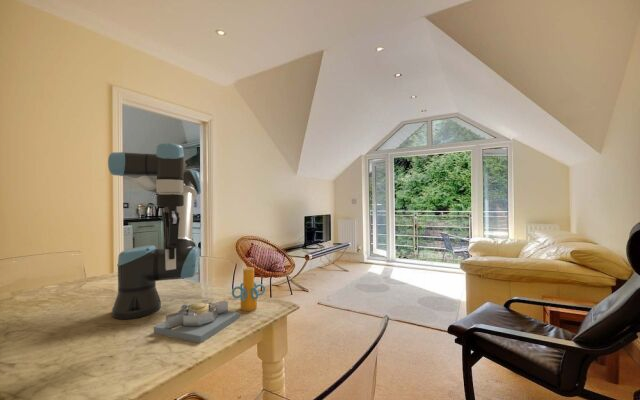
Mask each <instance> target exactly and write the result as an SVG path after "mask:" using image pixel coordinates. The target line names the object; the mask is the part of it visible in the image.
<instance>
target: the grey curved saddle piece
mask: <svg viewBox="0 0 640 400" xmlns="http://www.w3.org/2000/svg"><path fill="white" fill-rule="evenodd" d="M200 303H206V304H208V305H209V311H206V312H202V313H199V314H196V311H189V307H190V306H192V305H193V304H194V303H193V304H183V305H182V306H180V310H178V312H175V313H170V314H166V315H165V321H166V327H167V328H171V327H174V326H178V325H181V324H182V325H185V326H199V325H202V324H205V323H209V322H212V321H214V319H215V318H216V317H217V316H218V314H219V313H223V312H226V311H229V302H228V301H227V300H225V299H224V300H221V301H218V302H209V299H202V300H201V302H200Z"/></svg>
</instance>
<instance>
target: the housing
mask: <svg viewBox="0 0 640 400" xmlns="http://www.w3.org/2000/svg"><path fill="white" fill-rule="evenodd" d="M191 305H192V304H191ZM189 311H196V314H199V313H202V312H206V311H209V305H208V304H206V303H201V302H197V303H193V305H192V306H190V307H189ZM239 319H240V312H237V311H230V310H228V311H226V312H223V313H219V314H218V316H217V317H216V318H215V319H214V321H212V322H209V323H205V324H202V325H199V326H185V325H182V324H181V325H178V326H174V327H171V328H167V327H166V320H165V321H163V322H160V323H159V324H157V325H154V326H153V334H155V335H161V336H165V337H170V338H174V339H180V340H183V341H189V342H195V343H196V344H197V343H198V344H202V343H204V342H206V341H207V340H208V339H210V338H212V337H213V336H214V335H216V334H217V333H219V332H220V331H222V330H224V329H225V328H226V327H228V326H230V325H231V324H232V323H234V322H235V321H237V320H239Z"/></svg>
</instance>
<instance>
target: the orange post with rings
mask: <svg viewBox="0 0 640 400" xmlns="http://www.w3.org/2000/svg"><path fill="white" fill-rule="evenodd" d="M242 274H243V275H242V282H241V283H240V286H235V287H234V288H233V289H232V290H231V296H232V297H233V298H235V299H239V298H240V310H241V311H244V312H250V311H254V310H256V309H257V308H258V298H259V296H262V295H264V293H265V292H266V288H265V287H266V286H265V285H264V284H261V283H258V284H257V283H256V281H255V267H252V266H247V267H243V269H242ZM258 287H262V291H261V292H260V293H259V290H258ZM237 289H239V290H240V294H239V295H236V294H235V290H237Z"/></svg>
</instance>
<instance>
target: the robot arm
mask: <svg viewBox="0 0 640 400" xmlns="http://www.w3.org/2000/svg"><path fill="white" fill-rule="evenodd" d="M184 157H185V153H184V147H183V146H182V145H181V144H177V143H170V142H165V143H164V142H163V143H158V144H157V145H156V153H140V152H139V153H138V152H124V151H121V152H119V151H118V152H114V151H113V152H111V153H109V155H108V160H107V166H108V167H107V168H108V171H109V173H110V174H111V175H113V176H120V177H123V176H125V177H129V179H131V180H132V181H135V182H136V183H137V185H138V186H139V187H140V188H141V189H143V190H145V191H147V192H149V193H150V192H151V193H154V194H157V195H156V206H157V207H158V208H159V207H161V208H163V207H164V211H163V212H162V214H161V218H162V227H163V248H158V249H157V247H156V246H155V245H152V244H151V245H142V246H136V247H131V248H128V249H125V250H122V251H120V252H119V254H118V258H117V264H116V266H117V294H116V295H117V296H116V298H115V301H114V304H113V307H112V309H111V311H112V312H111V317H112V318H114V319H116V320H117V319H118V320H131V319H138V318H142V317H146V316H149V315H152V314H154V313H156V312H158V311H159V310H161V308H162V301H161V299H160V295H159V293H158V290H157V287H156V286H157V285H156V284H157V283H156V282H159V281H171V280H180V279H181V280H185V279H188V278H194V277H195V276H196V274H197V272H198V268H199V262H200V253H201V251H200V250H201V249H200V247H199V246H197V244H196V242H195V241H194V240H193V224H194V223H193V222H194V221H193V219H194V201H195V200H196V199H197V197H198V195H201V193H202V191H201V188H202V187H201V181H200V174H199V171H198V170H195V169H194V170H193V169H187V163H186V161H185V159H184Z"/></svg>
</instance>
